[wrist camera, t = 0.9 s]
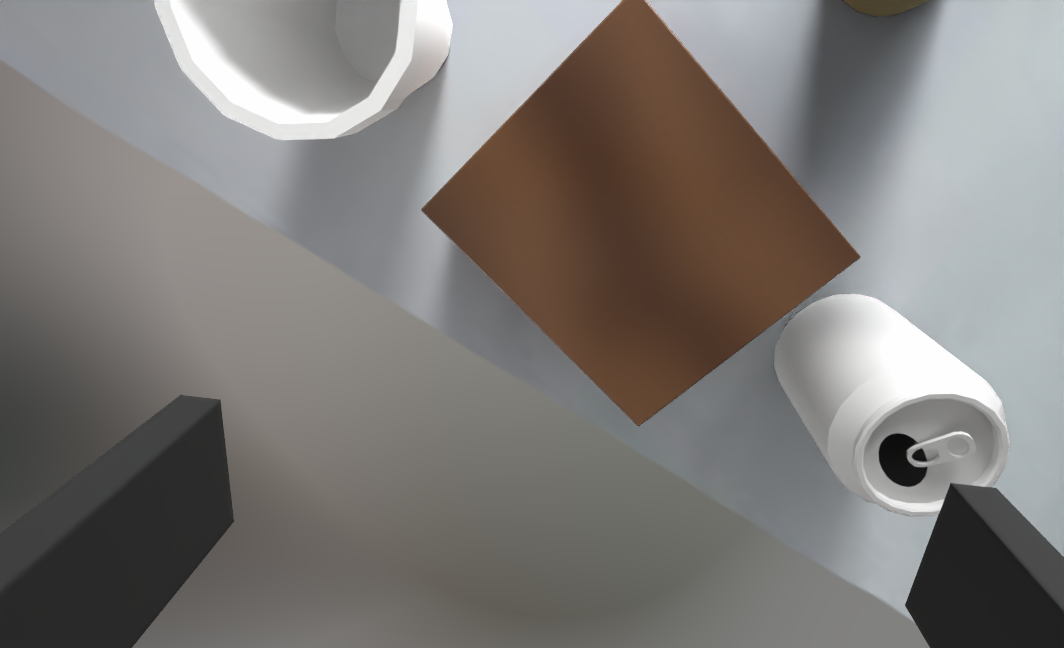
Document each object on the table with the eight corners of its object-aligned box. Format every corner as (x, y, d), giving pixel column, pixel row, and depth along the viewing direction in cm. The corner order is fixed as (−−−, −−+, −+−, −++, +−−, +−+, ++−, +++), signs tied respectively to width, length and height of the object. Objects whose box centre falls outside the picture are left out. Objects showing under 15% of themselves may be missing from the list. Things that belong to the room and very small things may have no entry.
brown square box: (623, 12, 33) (635, -14, 24) (792, 210, 36) (861, 257, 26) (464, 176, 37) (420, 210, 27) (628, 345, 40) (638, 427, 30)
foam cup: (366, -118, 32) (227, -237, 20) (516, 4, 33) (471, -38, 21) (278, 49, 35) (112, 34, 23) (418, 155, 37) (330, 192, 24)
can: (748, 326, 38) (811, 428, 27) (872, 265, 36) (995, 348, 25) (800, 424, 40) (879, 556, 29) (921, 370, 38) (1055, 490, 27)
